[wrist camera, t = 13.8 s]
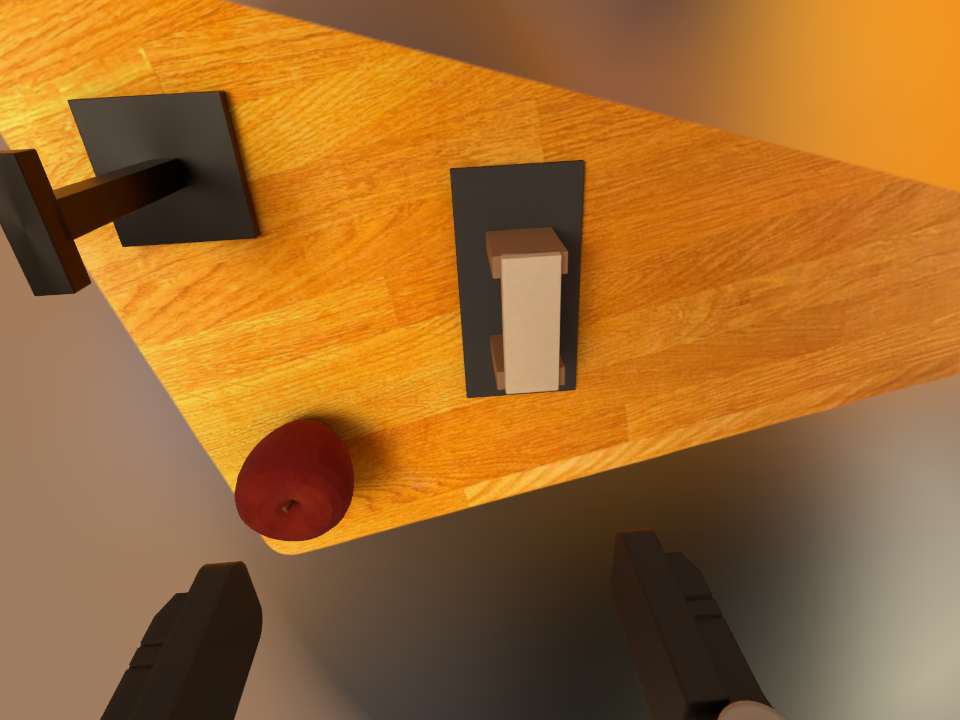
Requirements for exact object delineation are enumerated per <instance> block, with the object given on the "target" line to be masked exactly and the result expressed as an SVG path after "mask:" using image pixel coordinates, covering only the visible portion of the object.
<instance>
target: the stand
mask: <svg viewBox="0 0 960 720" xmlns="http://www.w3.org/2000/svg"><path fill="white" fill-rule="evenodd" d="M68 103H69V106H70V108H71V111H72V114H73V116H74V119H75V122H76V124H77V127H78V130H79V132H80V135H81V138H82V140H83V143H84V146H85V148H86V151H87V154H88V156H89V159H90V162H91V164H92V167H93V170H94V172H95V175H96V177H93V178H90V179H87V180H84V181H81V182H78V183H74V184H71V185H68V186H65V187H62V188H59V189H56V190H52V187H51V185H50V182H49V180H48V178H47V175H46V173H45V171H44V168H43V166H42V163H41V161H40V159H39V156H38V154H37V151H36V150H35V149H23V150H7V151H0V224H1V227H2V229H3V231H4V233H5V235H6V237H7V239H8V241H9V243H10V245H11V247H12V250H13V251H14V254H15V256H16V258H17V260H18V262H19V264H20V266H21V268H22V270H23V272H24V275H25V277H26V279H27V281H28V283H29V285H30V287H31V289H32V291H33V294H34V295H35V296H45V295H60V294H74V293H76V292H78V291H80V290H81V289H83V288H85V287H86V286H88V285H89V284H91V281H90V278H89V276H88V273H87V271H86V269H85V266H84V264H83V261H82V259H81V257H80V254H79V252H78V249H77V247H76V245H75V242H74V239H76V238H78V237H81V236H83V235H85V234H87V233H89V232H91V231H93V230H96V229H98V228H100V227H102V226H104V225H106V224H108V223H111V222H113V223H114V225H115V228H116V231H117V233H118V236H119V239H120V241H121V244H122V247H130V246H145V245H160V244H175V243H190V242H205V241H220V240H235V239H250V238H257V237H258V236H259V235H260V232H259V228H258V224H257V220H256V216H255V212H254V208H253V204H252V200H251V196H250V192H249V188H248V184H247V180H246V176H245V172H244V168H243V164H242V160H241V156H240V152H239V148H238V144H237V140H236V136H235V132H234V128H233V124H232V120H231V116H230V112H229V107H228V103H227V99H226V95H225V91H208V92H191V93H174V94H156V95H139V96H122V97H105V98H88V99H72V100H68Z"/></svg>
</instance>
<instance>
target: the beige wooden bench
mask: <svg viewBox="0 0 960 720" xmlns="http://www.w3.org/2000/svg"><path fill="white" fill-rule="evenodd" d="M485 235H486V251H487V256H488V260H489V264H490V268H491V272H492V277H493V279H497V278H501V293H502V322H503V334H498V335H490V343H491V355H492V361H493V366H494V372H495V378H496V384H497V389H498V390H503V389H505V391H506V394H516V393H530V392H543V391H556V390H559V385H564V384H565V366H564V364H563V361H562V359H561V357H560V354H559V346H560V302H561V274H567V273H568V251H567V249H566V248H565V247H564V245H563V244H562V242H561V241H560V239H559V238H558V236H557V235H556V233H555V232H554V230H553V229H552V227H542V228H527V229H512V230H497V231H486V232H485Z"/></svg>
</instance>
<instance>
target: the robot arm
mask: <svg viewBox="0 0 960 720" xmlns="http://www.w3.org/2000/svg"><path fill="white" fill-rule="evenodd" d="M611 588H612V595H613V601H614V605H615V609H616V612H617V615H618V618H619V621H620V624H621V628H622V630H623V634H624V637H625V640H626V643H627V646H628V649H629V653H630V655H631V659H632V661H633V665H634V668H635V671H636V675H637V678H638V681H639V684H640V687H641V690H642V693H643V696H644V699H645V702H646V706H647V709H648V712H649V715H650V718H651V720H788V719H787V718H786V717H784V716H783V715H782V714H781V713H779V712H778V711H776V710H775V709H774V708H773V707H772V706H771V704H770V703H769V702H768V700H767V699H766V698H765V696H764V694H763V692H762V691H761V689H760V687H759V685H758V683H757V681H756V679H755V677H754V675H753V673H752V671H751V669H750V667H749V665H748V663H747V661H746V659H745V657H744V656H743V654H742V652H741V650H740V648H739V646H738V644H737V642H736V640H735V638H734V636H733V634H732V632H731V630H730V628H729V626H728V624H727V622H726V620H725V619H723V617H722V613H721V611H720V609H719V607H718V605H717V603H716V601H715V599H713V597H712V593H711V591H710V589H709V587H708V585H707V583H706V581H705V580H704V578H703V576H702V573H701V572H700V570H699V569H698V568H697V567H695V566H694V565H693V564H692V563H691V562H690V561H689V560H688V559H687V558H686V557H685V556H684V555H683V554H682V553H681V552H676V553H664V551H663V549H662V547H661V544H660V542H659V540H658V538H657V536H656V534H655V532H654V531H653V530H652V529H638V530H627V531H617V532H616V535H615V543H614V554H613V563H612V574H611ZM261 630H262V609H261V605H260V603H259V600H258V597H257V594H256V592H255V589H254V586H253V584H252V581H251V578H250V575H249V573H248V570H247V568H246V565H245V564H244V563H243V562H241V561H239V562H227V563H216V564H205V565H204V566H202V567H201V569H200V570H199V572H198V573H197V575H196V577H195V580H194V582H193V584H192V586H191V588H190V590H189V592H188V593H177V594H175V595H174V596H173V597H172V598H171V600H170V601H169V602H168V603H167V604H166V605H165V606H164V607H163V608H162V609H161V610H160V611H159V612H158V613H157V614H156V615H155V617H154V618H153V620H152V622H151V624H150V626H149V628H148V630H147V631H146V633H145V635H144V637H143V639H142V641H141V646H140V648H138V649H137V651H136V652H135V654H134V656H133V658H132V660H131V662H130V664H129V665H130V667H129V669H128V670H126V672H125V673H124V675H123V677H122V679H121V681H120V683H119V685H118V687H117V689H116V691H115V693H114V695H113V696H112V698H111V700H110V702H109V704H108V706H107V708H106V710H105V712H104V714H103V716H102V717H101V719H100V720H234V718H235V715H236V712H237V708H238V705H239V702H240V699H241V696H242V693H243V689H244V686H245V683H246V680H247V677H248V674H249V671H250V667H251V665H252V662H253V658H254V655H255V652H256V649H257V646H258V642H259V639H260V635H261Z"/></svg>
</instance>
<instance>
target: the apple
mask: <svg viewBox="0 0 960 720" xmlns="http://www.w3.org/2000/svg"><path fill="white" fill-rule="evenodd" d="M353 491H354V471H353V466H352V462H351V459H350V455H349V453H348V450H347V448H346V446H345V445H344V443H343V441H342V440H341V439H340V437H339V436H338V435H337V434H336V433H335V432H334V431H333V430H332V429H330V428H329V427H327V426H326V425H324V424H322V423H320V422H317V421H313V420H298V421H294V422H290V423H287V424H285V425H283V426H281V427H279V428H277V429H275V430H274V431H273V432H271V433H270V434H269V435H267V436H266V437H265V438H263V439H262V440H261V441H260V442H259V443H258V444H257V445H256V447H255V448H254V449H253V450H252V451H251V453H250V454H249V455H248V457H247V458H246V460H245V462H244V464H243V466H242V468H241V470H240V473H239V475H238V478H237V483H236V489H235V502H236V507H237V511H238V513H239V516H240V517H241V519H242V520H243V521H244V523H245V524H246V525H248V526H249V527H250V528H251V529H253V530H254V531H256V532H258V533H259V534H262V535H264V536H266V537H269V538H273V539H277V540H283V541H304V540H309V539H313V538H316V537H318V536H321V535H323V534H325V533H326V532H328V531H329V530H330V529H332V528H333V527H335V526H336V525H337V524H338V523H339V522H340V521H341V520H342V518H343V517H344V515H345V513H346V512H347V510H348V508H349V506H350V504H351V500H352V496H353Z"/></svg>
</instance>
